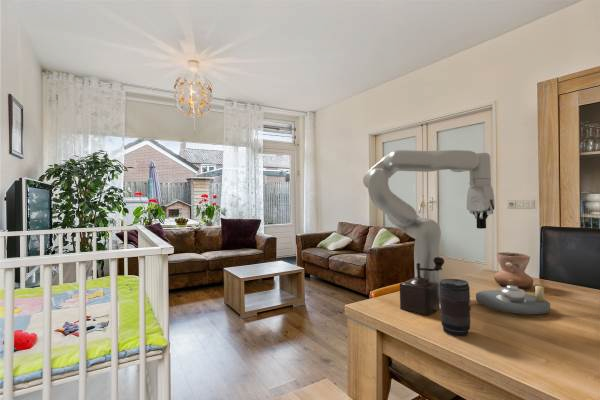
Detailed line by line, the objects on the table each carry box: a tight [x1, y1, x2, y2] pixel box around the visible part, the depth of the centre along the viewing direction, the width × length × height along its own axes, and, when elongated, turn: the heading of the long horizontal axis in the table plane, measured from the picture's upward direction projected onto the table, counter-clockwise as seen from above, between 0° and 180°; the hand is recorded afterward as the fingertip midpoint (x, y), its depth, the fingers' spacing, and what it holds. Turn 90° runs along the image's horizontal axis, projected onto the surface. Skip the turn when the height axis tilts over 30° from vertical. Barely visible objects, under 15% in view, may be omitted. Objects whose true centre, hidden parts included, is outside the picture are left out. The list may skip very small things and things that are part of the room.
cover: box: [500, 285, 525, 303], centre depth 111 cm, size 7×7×5 cm
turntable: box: [475, 285, 551, 315], centre depth 112 cm, size 22×22×6 cm
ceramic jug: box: [493, 251, 534, 289], centre depth 139 cm, size 18×14×14 cm
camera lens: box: [439, 278, 472, 338], centre depth 92 cm, size 8×8×15 cm
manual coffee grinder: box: [399, 256, 445, 317], centre depth 114 cm, size 16×11×18 cm
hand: (481, 228), depth 127 cm, fingers closed
